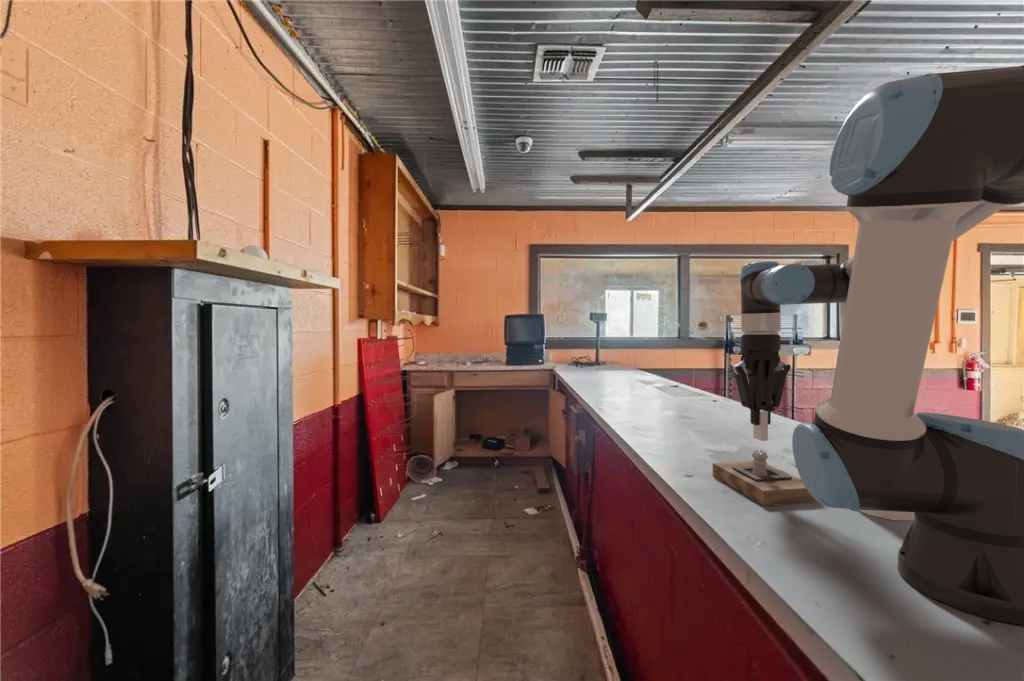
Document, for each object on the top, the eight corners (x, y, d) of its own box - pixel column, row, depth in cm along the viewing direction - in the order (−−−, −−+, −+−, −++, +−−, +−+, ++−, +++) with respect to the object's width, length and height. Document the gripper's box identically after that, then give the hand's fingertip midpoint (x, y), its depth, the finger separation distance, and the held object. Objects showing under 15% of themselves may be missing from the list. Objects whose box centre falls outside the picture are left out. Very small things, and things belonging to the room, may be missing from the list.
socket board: (818, 501, 88) (818, 484, 87) (763, 505, 86) (763, 488, 86) (758, 472, 105) (758, 458, 105) (712, 475, 104) (712, 460, 104)
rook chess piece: (774, 491, 94) (775, 454, 93) (752, 490, 94) (752, 454, 94) (766, 483, 98) (766, 449, 98) (745, 482, 99) (745, 448, 98)
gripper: (775, 332, 99) (775, 433, 100) (722, 333, 98) (722, 436, 99) (800, 332, 92) (800, 442, 93) (743, 334, 90) (743, 445, 91)
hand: (760, 439), depth 96 cm, fingers closed
